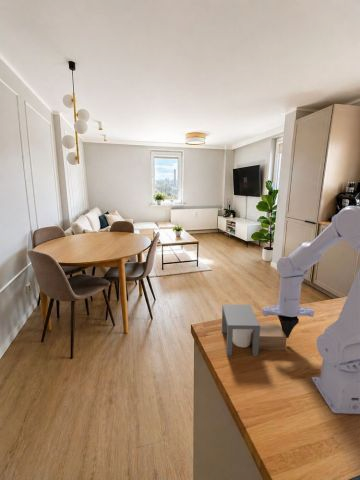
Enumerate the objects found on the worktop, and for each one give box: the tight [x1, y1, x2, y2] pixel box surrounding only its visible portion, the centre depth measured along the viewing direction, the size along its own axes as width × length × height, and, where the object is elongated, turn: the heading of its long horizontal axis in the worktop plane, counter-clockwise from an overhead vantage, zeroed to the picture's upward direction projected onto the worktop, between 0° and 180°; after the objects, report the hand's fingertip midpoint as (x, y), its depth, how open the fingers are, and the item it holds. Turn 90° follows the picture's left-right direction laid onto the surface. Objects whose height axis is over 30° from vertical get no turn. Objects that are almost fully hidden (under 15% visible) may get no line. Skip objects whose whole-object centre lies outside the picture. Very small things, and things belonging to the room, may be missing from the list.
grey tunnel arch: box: [221, 304, 260, 357], centre depth 73 cm, size 12×9×10 cm
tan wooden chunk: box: [250, 322, 288, 351], centre depth 73 cm, size 7×10×4 cm
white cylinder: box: [232, 329, 253, 348], centre depth 73 cm, size 7×7×7 cm
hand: (285, 336), depth 73 cm, fingers closed
